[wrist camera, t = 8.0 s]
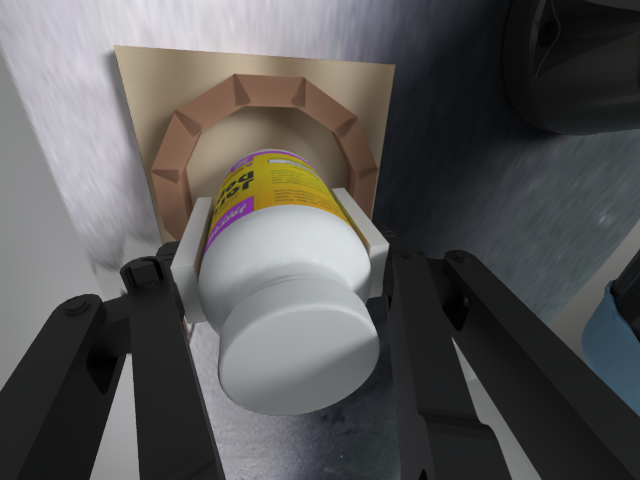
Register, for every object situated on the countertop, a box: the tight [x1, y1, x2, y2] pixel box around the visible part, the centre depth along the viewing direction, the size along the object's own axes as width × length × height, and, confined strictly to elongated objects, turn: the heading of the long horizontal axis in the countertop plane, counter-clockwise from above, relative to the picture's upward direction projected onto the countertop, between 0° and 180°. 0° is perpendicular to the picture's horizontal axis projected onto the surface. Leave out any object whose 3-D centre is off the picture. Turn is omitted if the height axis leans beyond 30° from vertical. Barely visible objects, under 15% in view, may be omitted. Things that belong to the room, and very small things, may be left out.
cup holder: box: [114, 45, 395, 245], centre depth 21 cm, size 16×16×3 cm
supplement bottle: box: [198, 149, 380, 416], centre depth 14 cm, size 7×7×13 cm
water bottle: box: [452, 338, 542, 480], centre depth 25 cm, size 7×7×25 cm
